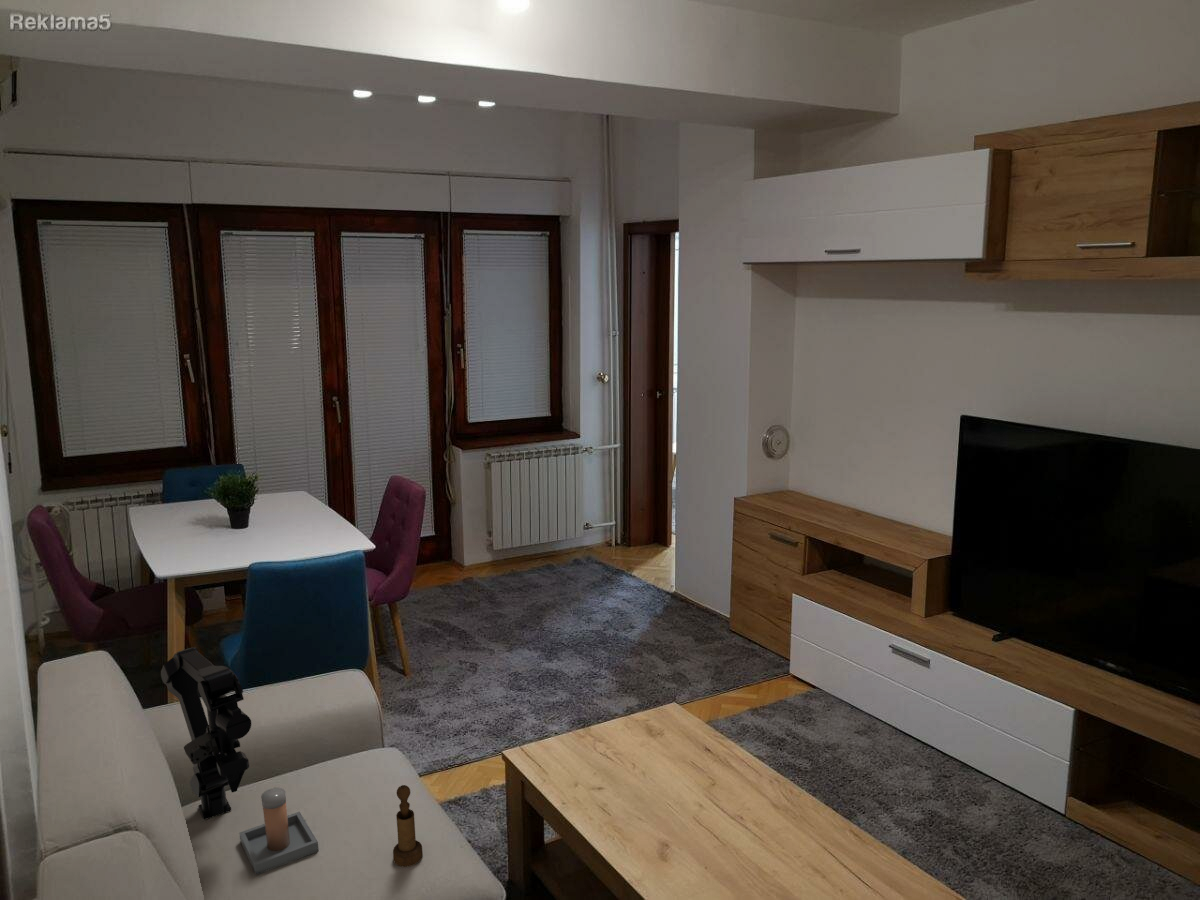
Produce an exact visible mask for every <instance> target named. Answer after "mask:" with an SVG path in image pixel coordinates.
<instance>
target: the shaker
mask: <svg viewBox="0 0 1200 900" xmlns="http://www.w3.org/2000/svg"><path fill="white" fill-rule="evenodd" d="M261 805H262V811H263V819H264V821H263V822H264V824H265V830H266V839H267V848H268V849H269V850H271V851H280V850H283V849H285V848H286V847H288V846H289V844H290V837H289V827H288V817H287V816H288V809H287V795H286V790H285V789H284V788H282V787H273V788H269V789H266V790H265V791H264V792H263V793H262V794H261Z"/></svg>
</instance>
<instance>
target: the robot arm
mask: <svg viewBox="0 0 1200 900" xmlns="http://www.w3.org/2000/svg"><path fill="white" fill-rule="evenodd" d="M160 677H161V680H162V683H163V684H164V685H166V688H167V691H168V692H169V693H170V694H171V695H173V696H174V697H175V698H176V699H178V702H179V705H180V708H181V712H182V714H183V718H184V721H185V723H186V727H187V730H188V733H189V736H190V739H191V740H190V741H189V742H188V743H186V744H185V745H184V746H183V750H184V753H185V755H186V756H187V757H188V759H189V760H190V762H191V764H192V765H193V766H192V771H193V774H192V775H193V776H192V777H191V778H190V780H189V786H190V789H191V791H192V793H194V795H196V797H197V798H200V803H201V804H198V806H197V807H198V809H199V812H200V814H201V817H202V819H204V820H208V819H210V817H211V818H213V817H212V816H214V817H216V815H217V816H219V814H220V815H223V814H225V812H226V813H228V811H229V812H231V811H232V807H231V805H230V802H229V801H228V798H227V793H226V787H227V786H229V789H230V791H231V793H235V792H237V791H238V789H239V787H240V784H241V781H242V779H243V777H244V774H245V772H246V770H248V769H249V768H250V763H249V762H250V761H249V758H248V756H247V755H246V753H245V752H243V751H241V750H240V751H236V749H237V748H240V747H241V743H240V741H239V740H240V739H243V738H244V737H245V736H246V735H248V734H249V732H250V730H251V728H252V720H251V718H250V717H249V716H248V715H247V714H246V713H245V712H244V711H243V710H242V709H241V708H240V707H239V705H238V703H239V702H242V701H244V700H245V699H244V698H245V697H244V696H243V693H244V690H243V687H242V685H241V683H240V680H239V678H238V676H237V675H236V674H235V672H234V671H233V670H231V669H230V667H227V666H225V665H214V664H213V663H212V662H211V661H209V659H207V658H206V657H204V656H203V655H202V654H201V653H200V652H199V649H198V648H197V647H189V648H186V649H182V650H179V651H177V652H176V653H174V654H173V656H172V657H171V658H170V659H169V660H167V662H165V663H163V665H162V668H161V670H160ZM231 693H233V694H231ZM228 694H230V695H228ZM201 699H202V701H203V703H204V705H205V707H206V712H207V713H206V712H205V710H204V706H203V703H202V701H201ZM230 810H231V811H230ZM222 813H223V814H222ZM207 818H208V819H207Z"/></svg>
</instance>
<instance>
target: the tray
mask: <svg viewBox="0 0 1200 900" xmlns="http://www.w3.org/2000/svg"><path fill="white" fill-rule="evenodd" d="M287 817H288V827H289V837H290V844H289V846H288V847H286V848H285V849H283V850H280V851H271V850H269V849H268V848H267V839H266V830H265V823H263V824H259V825H258V826H254V827H251V828H248V829H246V830H242V831H240V832H238V833H239V840H240V844H241V846H242V848H243V851H244V850H245V851H244V853H245V855H246V857H247V859H248V861H249V863H250V866H251V867H252V870H253V872H254V874H255V875H259V874H262V873H265V872H268V871H270V870H273V869H275V868H279V867H281V866H283V865H286V864H288V863H291V862H294V861H296V860H298V859H299V860H300V859H301V858H304V857H307V856H310V855H312V854H314V853H317V852H319V842H318V839H317V838H316V836H315V835H314V833H313V831H312V829H311V828H310V826H309V825H308V823H307V822H306V820H305V819H304V816H303V815H302V812H300V811H297V812H294V813H291V814H289V815H288V814H287Z"/></svg>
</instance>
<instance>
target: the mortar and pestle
mask: <svg viewBox="0 0 1200 900" xmlns="http://www.w3.org/2000/svg"><path fill="white" fill-rule="evenodd" d="M396 796H397V798H398V800H400V804H399V805H398V806H399V811H397V812H396V828H397V829H396V831H397V844H395V845H394V847H393V849H392V856H393V862H394V864H395V865H397V866H399V867H402V866H403V867H404V868H405V867H406V868H408V867H412V866H415V865H416V864H418V863H419V862H420V861H421V860H422V859H423V856H424V855H423V845H422V844H421V842H420V841H419V840H417V839H416V822H415V812H414V811H413V809H410V806H411V804H410V802H409V801H408V800H409V798H410V796H411V789H410V787H409V786H408V785H406V784H405V785H404V784H402V785H400V786H398V788H397V790H396ZM407 866H408V867H407ZM403 867H402V868H403Z"/></svg>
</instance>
